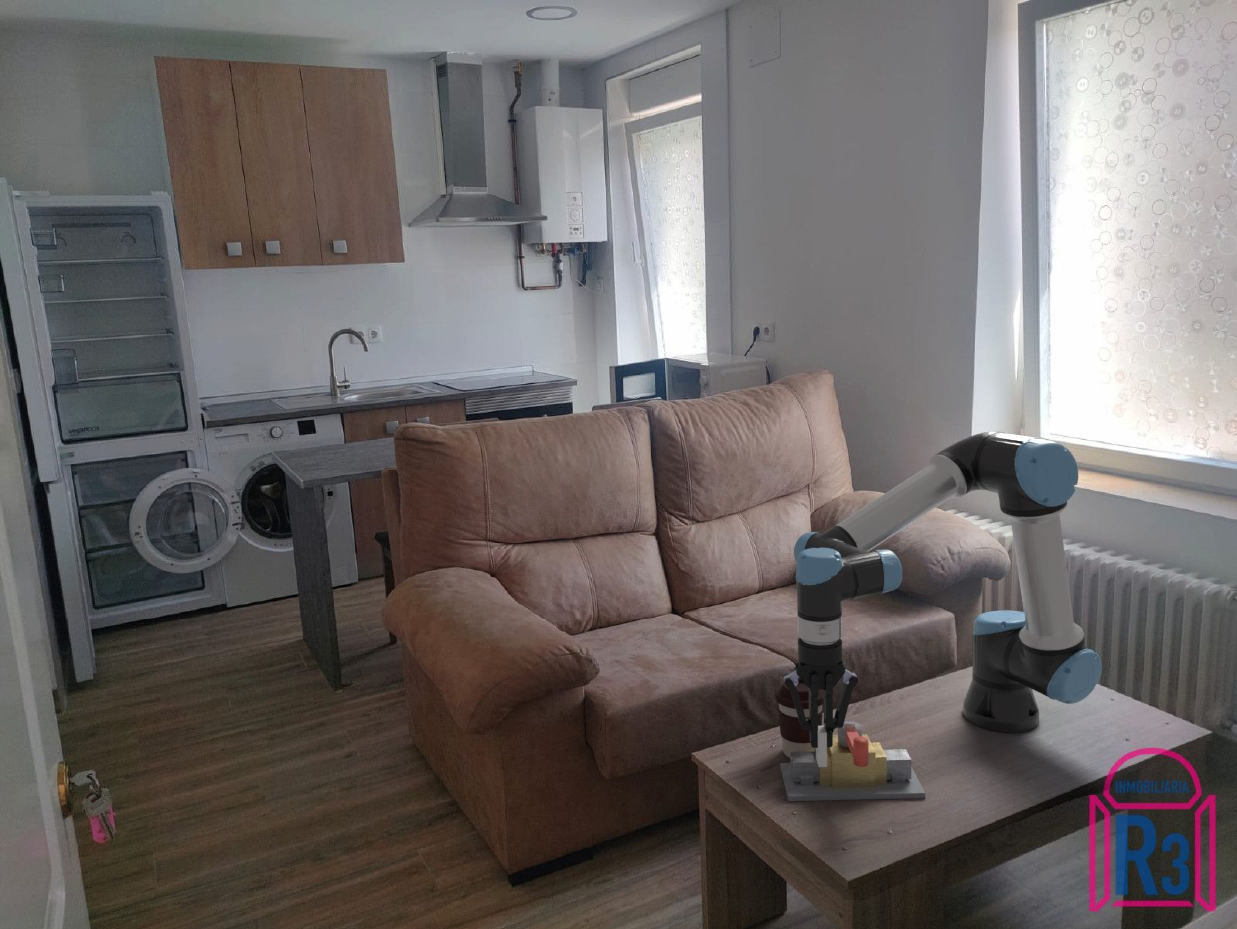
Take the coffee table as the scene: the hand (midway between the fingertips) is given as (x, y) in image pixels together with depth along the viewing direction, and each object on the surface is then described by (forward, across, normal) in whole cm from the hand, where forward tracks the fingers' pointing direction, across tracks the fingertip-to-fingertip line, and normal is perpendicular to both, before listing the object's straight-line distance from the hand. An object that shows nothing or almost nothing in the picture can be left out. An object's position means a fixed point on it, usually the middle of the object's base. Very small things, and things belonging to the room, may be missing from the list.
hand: (821, 763), depth 164 cm
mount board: (+10, +7, +11) cm, 17 cm away
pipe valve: (+10, +7, +11) cm, 17 cm away
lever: (+2, +7, +6) cm, 10 cm away
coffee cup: (+11, 0, +23) cm, 25 cm away
